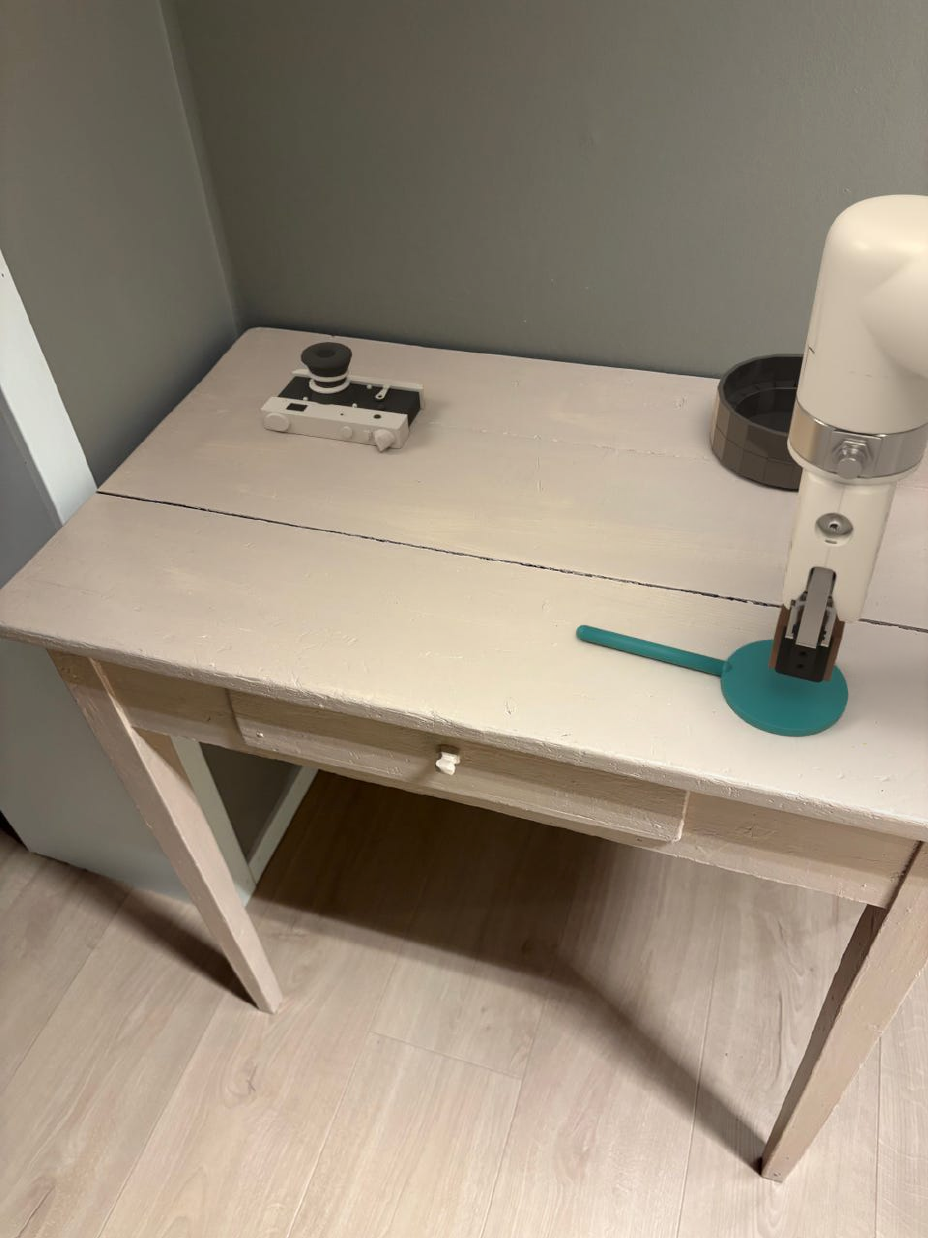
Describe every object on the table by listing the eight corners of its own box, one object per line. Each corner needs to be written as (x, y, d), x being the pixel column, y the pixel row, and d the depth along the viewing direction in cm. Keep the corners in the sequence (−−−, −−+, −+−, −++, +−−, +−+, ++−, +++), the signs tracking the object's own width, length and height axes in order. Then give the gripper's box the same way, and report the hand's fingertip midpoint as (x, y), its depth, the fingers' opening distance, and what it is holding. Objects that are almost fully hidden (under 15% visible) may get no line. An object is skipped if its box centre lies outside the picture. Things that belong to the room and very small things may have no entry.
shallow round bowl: (877, 421, 96) (893, 367, 92) (859, 507, 87) (875, 451, 82) (727, 395, 101) (736, 343, 97) (694, 474, 91) (702, 420, 87)
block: (838, 642, 69) (850, 598, 66) (829, 682, 66) (841, 638, 63) (778, 628, 70) (787, 585, 67) (767, 667, 67) (776, 624, 65)
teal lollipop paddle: (853, 664, 73) (857, 653, 72) (836, 751, 67) (840, 740, 66) (593, 599, 79) (594, 589, 79) (557, 674, 74) (558, 663, 73)
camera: (423, 344, 98) (388, 394, 91) (428, 404, 102) (395, 456, 96) (287, 328, 101) (244, 375, 95) (298, 387, 106) (258, 435, 100)
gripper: (915, 524, 49) (843, 753, 61) (938, 367, 60) (873, 588, 72) (765, 497, 51) (725, 722, 64) (813, 352, 62) (771, 568, 75)
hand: (804, 649), depth 68 cm, fingers closed on block, 4 cm apart
